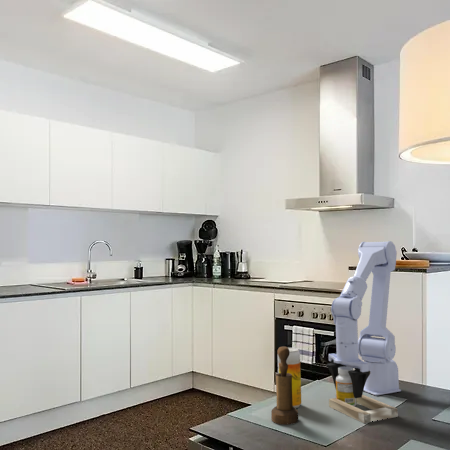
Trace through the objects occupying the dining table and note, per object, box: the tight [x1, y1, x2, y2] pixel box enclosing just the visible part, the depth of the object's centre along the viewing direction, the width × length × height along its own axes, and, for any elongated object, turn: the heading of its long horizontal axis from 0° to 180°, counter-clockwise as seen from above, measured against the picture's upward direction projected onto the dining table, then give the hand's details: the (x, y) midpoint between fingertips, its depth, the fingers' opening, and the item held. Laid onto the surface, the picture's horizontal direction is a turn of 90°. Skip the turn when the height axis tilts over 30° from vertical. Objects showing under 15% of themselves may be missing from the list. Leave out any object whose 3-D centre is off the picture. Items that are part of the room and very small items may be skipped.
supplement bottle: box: [335, 366, 358, 407], centre depth 132 cm, size 5×5×10 cm
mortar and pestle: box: [271, 345, 299, 426], centre depth 121 cm, size 7×6×18 cm
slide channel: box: [328, 394, 398, 424], centre depth 126 cm, size 10×14×2 cm
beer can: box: [277, 347, 302, 409], centre depth 132 cm, size 6×6×15 cm
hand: (348, 393), depth 131 cm, fingers open, 7 cm apart
